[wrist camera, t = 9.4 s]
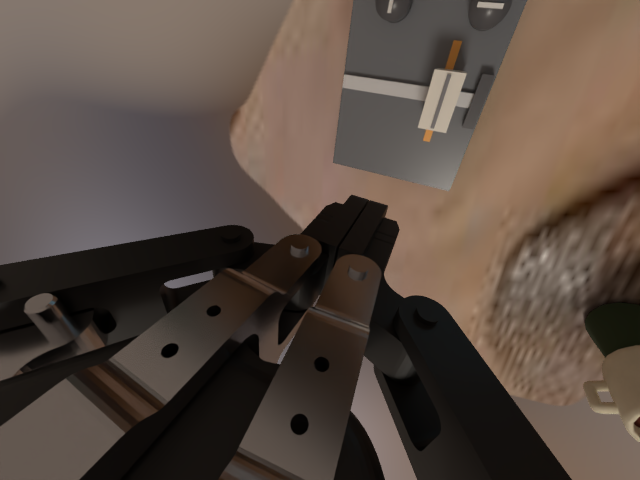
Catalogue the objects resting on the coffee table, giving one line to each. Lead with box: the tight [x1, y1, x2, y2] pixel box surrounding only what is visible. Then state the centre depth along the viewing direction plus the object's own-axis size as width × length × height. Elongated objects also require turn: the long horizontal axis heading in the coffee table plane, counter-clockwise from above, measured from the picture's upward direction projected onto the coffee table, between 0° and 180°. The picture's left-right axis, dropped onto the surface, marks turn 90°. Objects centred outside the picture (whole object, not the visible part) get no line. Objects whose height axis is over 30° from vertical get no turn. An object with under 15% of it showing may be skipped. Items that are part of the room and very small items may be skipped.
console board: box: [333, 0, 527, 191], centre depth 27 cm, size 18×14×4 cm
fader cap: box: [418, 68, 467, 133], centre depth 24 cm, size 4×2×4 cm, turn 175°
